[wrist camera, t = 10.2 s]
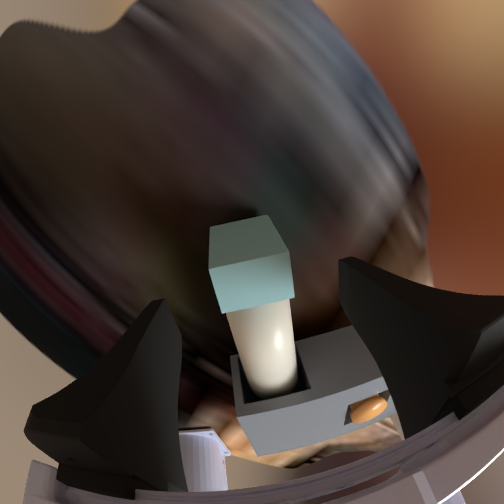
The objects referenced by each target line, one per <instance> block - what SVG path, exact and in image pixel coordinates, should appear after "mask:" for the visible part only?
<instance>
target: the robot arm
mask: <svg viewBox="0 0 504 504" xmlns="http://www.w3.org/2000/svg"><path fill="white" fill-rule="evenodd" d="M338 264H339V301H340V303H341V305H342V307H343V310H344V312H345V314H346V316H347V318H348V319H349V321H350V322H351V324H352V325H353V327H354V328H355V330H356V331H357V333H358V335H359V336H360V338H361V339H362V341H363V342H364V344H365V345H366V347H367V348H368V350H369V351H370V353H371V354H372V356H373V358H374V360H375V361H376V363H377V365H378V367H379V370H380V372H381V374H382V376H383V378H384V380H385V383H386V385H387V388H388V390H389V393H390V395H391V397H392V400H393V403H394V406H395V409H396V411H397V414H398V417H399V421H400V424H401V427H402V431H403V434H404V438H405V440H403V441H401V442H399V443H397V444H395V445H393V446H391V447H389V448H387V449H384V450H382V451H380V452H378V453H375V454H373V455H370V456H368V457H366V458H363V459H360V460H358V461H355V462H352V463H350V464H347V465H344V466H341V467H338V468H335V469H332V470H329V471H325V472H322V473H319V474H315V475H311V476H307V477H304V478H299V479H295V480H291V481H287V482H281V483H276V484H271V485H266V486H259V487H252V488H244V489H235V490H228V486H227V476H226V467H225V457H224V456H230V455H231V452H230V451H229V450H228V448H227V447H226V446H225V444H224V443H223V442H222V440H221V439H220V438H219V436H218V435H217V434H216V432H215V431H214V430H213V429H211V428H207V429H196V430H183V431H179V429H178V410H177V407H178V391H179V381H180V371H181V361H182V338H181V333H180V331H179V329H178V326H177V324H176V322H175V320H174V317H173V315H172V313H171V310H170V308H169V306H168V303H167V301H166V299H165V298H164V299H159V300H154V301H151V302H150V303H149V304H148V306H147V307H146V308H145V309H144V310H143V311H142V313H141V314H140V315H139V316H138V318H137V319H136V320H135V321H134V322H133V324H132V325H131V326H130V327H129V329H128V330H127V331H126V332H125V333H124V334H123V336H122V337H121V338H120V339H119V340H118V341H117V342H116V343H115V345H114V346H113V347H112V348H111V349H110V350H109V351H108V352H107V353H106V354H105V355H104V356H103V357H102V358H101V359H100V360H99V361H98V362H97V363H96V364H95V365H93V366H92V367H91V368H90V369H89V370H87V371H86V372H85V373H84V374H82V375H81V376H80V377H79V378H77V379H76V380H75V381H73V382H72V383H71V384H69V385H68V386H66V387H65V388H63V389H62V390H60V391H59V392H57V393H55V394H53V395H52V396H50V397H48V398H46V399H44V400H42V401H40V402H38V403H37V404H34V405H33V406H32V409H31V411H30V414H29V417H28V420H27V422H26V426H25V428H24V433H25V435H26V437H27V438H28V440H29V441H30V442H31V443H32V444H34V445H35V446H36V447H37V448H39V449H40V450H41V451H43V452H44V453H45V454H47V455H48V456H50V457H51V458H52V459H54V460H55V461H57V462H58V463H59V466H58V469H57V468H55V467H52V466H50V465H47V464H44V463H41V462H38V461H35V460H32V461H31V465H30V470H29V473H28V478H27V483H26V488H25V493H24V499H23V504H289V503H294V502H298V501H303V500H307V499H311V498H315V497H318V496H322V495H325V494H329V493H332V492H335V491H338V490H341V489H344V488H347V487H350V486H353V485H355V484H358V483H361V482H363V481H366V480H369V479H371V478H373V477H375V476H378V475H380V474H383V473H385V472H387V471H389V470H391V469H393V468H396V467H398V466H400V465H402V464H404V463H406V462H407V463H406V464H404V465H402V466H401V468H400V471H398V472H397V473H396V474H395V475H394V476H392V477H391V478H390V479H388V480H387V481H385V482H383V483H381V484H378V485H376V486H373V487H370V488H368V489H365V490H362V491H360V492H357V493H354V494H351V495H348V496H345V497H342V498H339V499H336V500H332V501H329V502H326V503H322V504H466V503H465V500H464V498H463V496H462V494H461V492H460V489H462V488H463V487H464V486H465V485H467V484H468V483H469V482H470V481H471V480H473V479H474V478H475V477H476V476H478V475H479V474H480V473H481V472H482V471H483V470H484V469H485V468H486V467H487V466H489V465H490V464H491V463H492V462H493V461H494V460H495V459H496V458H497V457H498V456H499V455H500V454H501V453H502V452H503V451H504V296H488V295H486V296H484V295H472V294H463V293H456V292H451V291H446V290H441V289H437V288H433V287H430V286H426V285H423V284H419V283H416V282H413V281H411V280H408V279H405V278H403V277H400V276H397V275H395V274H393V273H390V272H388V271H385V270H383V269H381V268H379V267H376V266H374V265H372V264H370V263H367V262H365V261H363V260H360V259H358V258H355V257H352V256H351V257H347V258H343V259H339V260H338ZM413 458H414V459H413ZM411 459H412V460H411ZM409 460H410V461H409ZM408 461H409V462H408Z"/></svg>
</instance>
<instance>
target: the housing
mask: <svg viewBox="0 0 504 504" xmlns="http://www.w3.org/2000/svg"><path fill="white" fill-rule="evenodd" d="M294 344H295V354H296V363H297V373H298V382H297V385H296V387H295V388H294V390H293V391H292V392H291V393H289V394H288V395H285V396H281V397H277V398H272V399H264V398H261V397H258V396H257V395H255V394H254V393H253V392H252V390H251V389H250V386H249V383H248V380H247V377H246V374H245V371H244V368H243V365H242V362H241V359H240V356H239V354H237V355H231V356H230V361H231V371H232V381H233V390H234V399H235V408H236V417H237V419H238V421H239V423H240V425H241V427H242V429H243V430H244V432H245V434H246V436H247V438H248V440H249V442H250V443H251V445H252V447H253V449H254V450H255V452H256V454H257V456H264V455H269V454H274V453H279V452H284V451H288V450H293V449H297V448H301V447H305V446H308V445H312V444H316V443H319V442H323V441H326V440H329V439H332V438H335V437H338V436H341V435H344V434H347V433H350V432H353V431H355V430H358V429H361V428H363V427H366V426H368V425H371V424H373V423H376V422H378V421H381V420H383V419H385V418H387V417H390V416H392V415H394V414H396V413H397V411H396V409H395V406H394V403H393V400H392V397H391V395H390V393H389V390H388V388H387V385H386V383H385V380H384V378H383V376H382V374H381V372H380V370H379V367H378V365H377V363H376V361H375V360H374V358H373V356H372V354H371V353H370V351H369V350H368V348H367V347H366V345H365V344H364V342H363V341H362V339H361V338H360V336H359V335H358V333H357V331H356V330H355V328H354V327H353V325H351V326H347V327H344V328H341V329H338V330H334V331H331V332H327V333H324V334H320V335H317V336H313V337H310V338H306V339H302V340H298V341H294ZM376 394H378V395H379V396H382V397H384V398H385V400H386V402H387V407H386V409H385V410H384V411H383V412H382V413H380V414H379V415H378V416H376V417H374V418H373V419H371V420H369V421H366V422H363V423H353V422H352V419H351V417H350V413H351V412H352V410H351V408H350V406H349V405H350V404H352V403H355V402H358V401H361V400H363V399H366V398H368V397H371V396H373V395H376Z"/></svg>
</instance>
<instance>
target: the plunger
mask: <svg viewBox="0 0 504 504" xmlns="http://www.w3.org/2000/svg"><path fill="white" fill-rule="evenodd" d="M349 406H350V408H351V410H352V412H351V413H350V417H351V419H352V422H353V423H363V422H366V421H369V420H371V419H373V418H374V417H376V416H378V415H379V414H380V413H382V412H383V411H384V410H385V409H386V407H387V402H386V400H385V398H384V397H382V396H379V395H378V394H376V395H373V396H371V397H368V398H366V399H363V400H361V401H358V402H355V403H352V404H350V405H349Z"/></svg>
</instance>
